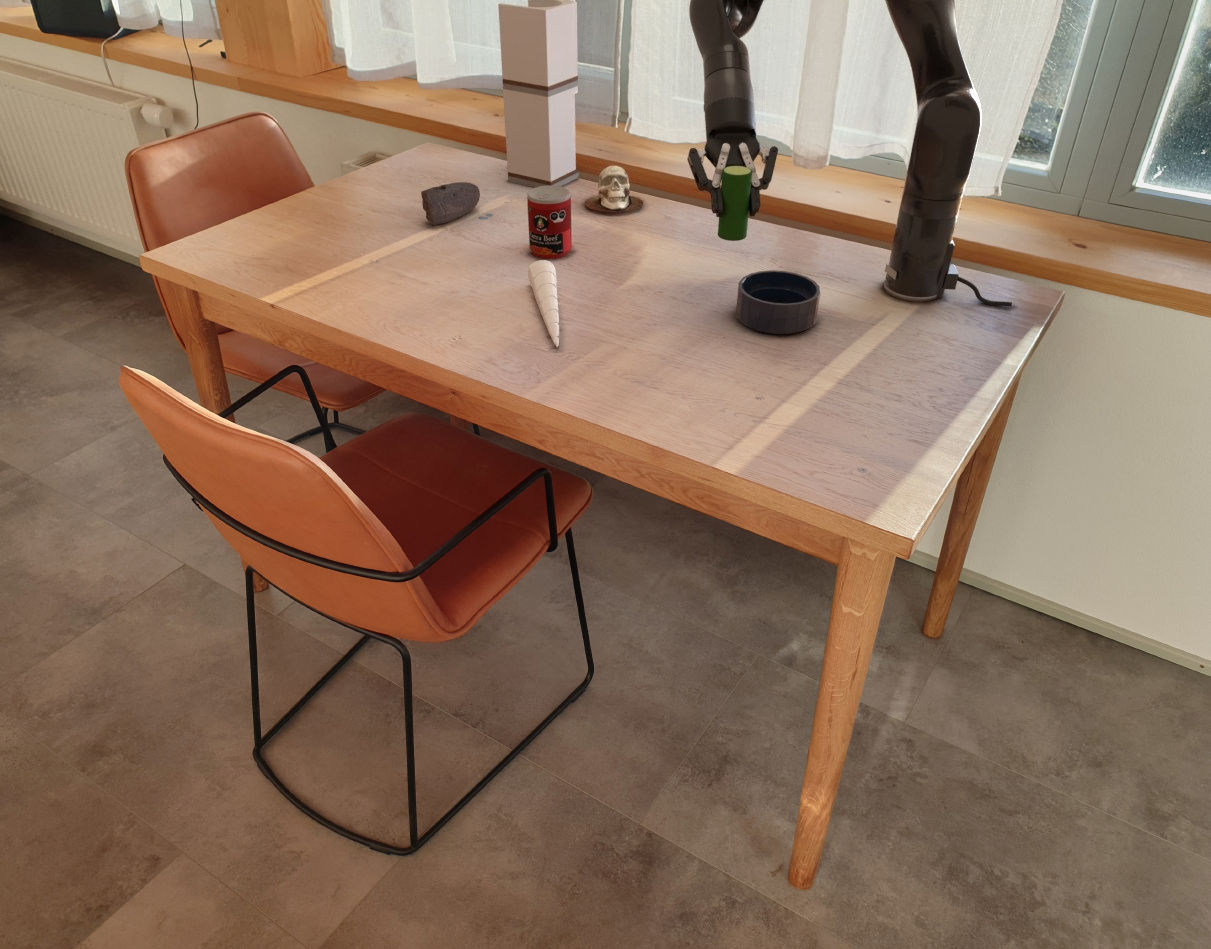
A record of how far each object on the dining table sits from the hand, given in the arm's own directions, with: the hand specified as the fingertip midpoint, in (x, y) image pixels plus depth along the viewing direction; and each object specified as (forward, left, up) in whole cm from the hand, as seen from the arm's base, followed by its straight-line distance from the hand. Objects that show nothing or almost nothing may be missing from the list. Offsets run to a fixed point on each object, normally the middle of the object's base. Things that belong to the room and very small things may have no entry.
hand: (736, 214), depth 140 cm
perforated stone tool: (+55, -39, -18) cm, 69 cm away
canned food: (+33, -25, -18) cm, 45 cm away
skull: (+24, -50, -18) cm, 58 cm away
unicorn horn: (+29, 0, -18) cm, 34 cm away
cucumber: (0, -2, -4) cm, 5 cm away
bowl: (-8, -2, -18) cm, 20 cm away
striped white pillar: (+41, -64, -18) cm, 78 cm away
